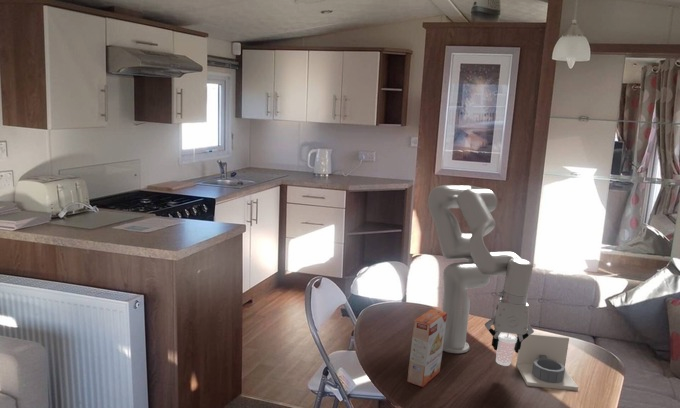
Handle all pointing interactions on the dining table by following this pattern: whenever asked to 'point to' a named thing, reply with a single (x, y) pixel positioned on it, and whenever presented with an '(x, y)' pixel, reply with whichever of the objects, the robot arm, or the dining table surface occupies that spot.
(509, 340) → the beverage cup
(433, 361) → the cracker box
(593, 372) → the dining table surface
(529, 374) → the bracket
